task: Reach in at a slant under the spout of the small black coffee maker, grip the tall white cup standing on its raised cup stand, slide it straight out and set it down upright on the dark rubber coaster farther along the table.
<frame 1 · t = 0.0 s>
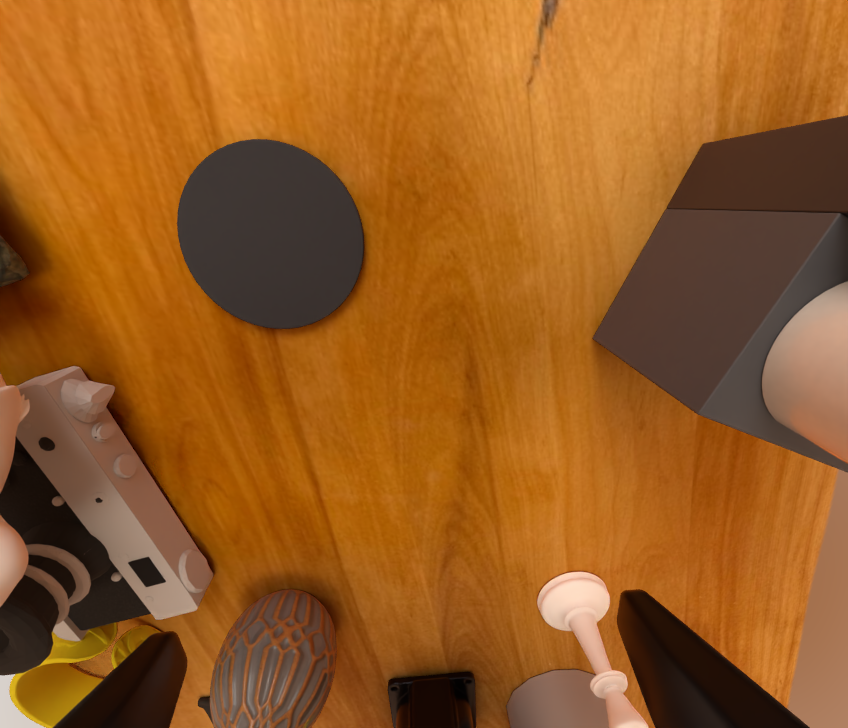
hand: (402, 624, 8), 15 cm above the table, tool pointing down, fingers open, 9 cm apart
vase: (292, 607, 28), on the table
white cup: (845, 359, 14), point 8 cm above the table, touching coffee maker
coffee maker: (683, 302, 22), on the table
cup: (557, 701, 33), on the table
coaster: (274, 240, 19), on the table
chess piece: (570, 594, 29), on the table
bracelet: (56, 718, 25), point 4 cm above the table
camera: (99, 497, 24), on the table, touching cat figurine
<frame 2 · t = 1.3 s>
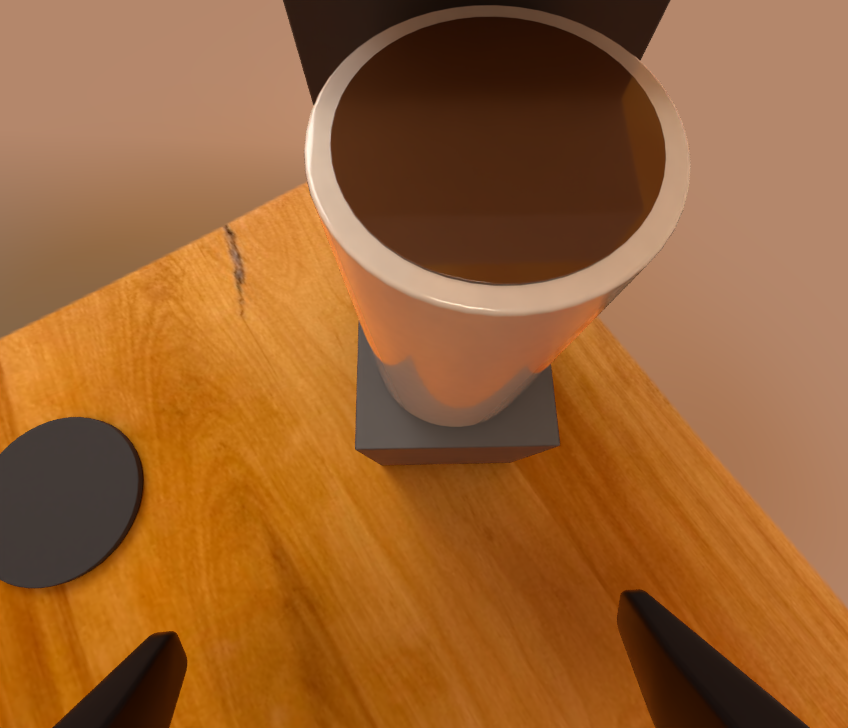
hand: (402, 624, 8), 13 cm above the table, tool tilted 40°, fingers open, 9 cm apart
white cup: (453, 350, 15), point 8 cm above the table, touching coffee maker
coffee maker: (443, 399, 23), on the table
coaster: (61, 497, 22), on the table
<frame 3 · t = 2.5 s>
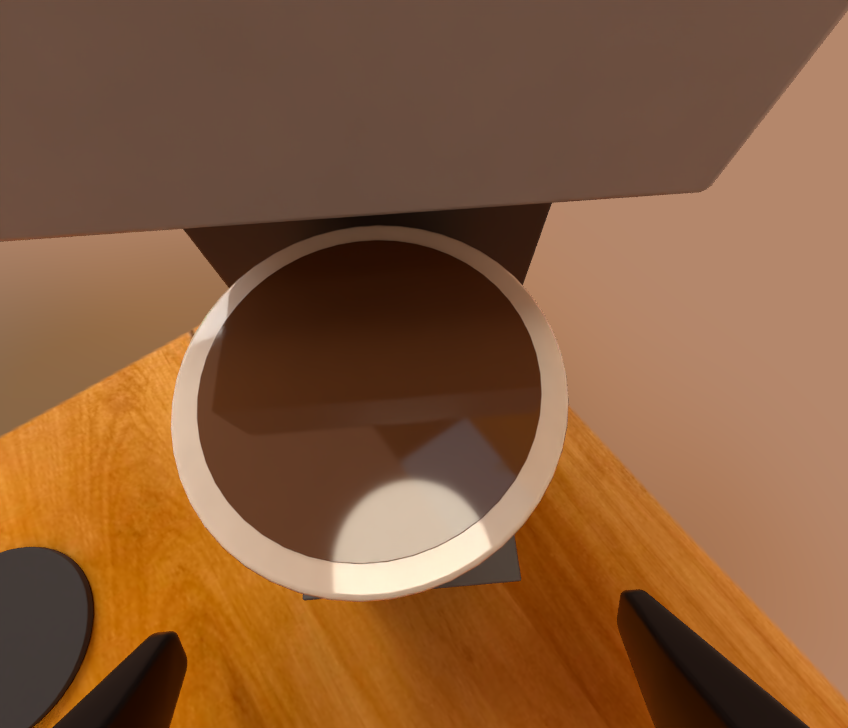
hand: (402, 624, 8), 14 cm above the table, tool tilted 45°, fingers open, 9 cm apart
white cup: (405, 478, 15), point 8 cm above the table, touching coffee maker
coffee maker: (414, 502, 22), on the table
coaster: (3, 642, 20), on the table
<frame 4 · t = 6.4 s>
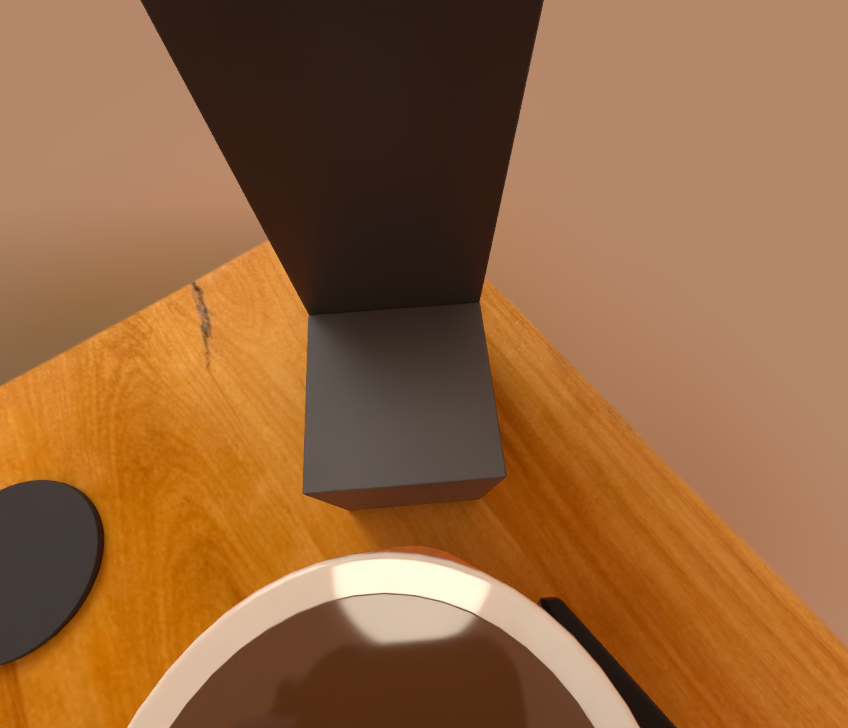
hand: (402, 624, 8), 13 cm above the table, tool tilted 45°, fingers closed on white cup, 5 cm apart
white cup: (413, 648, 12), point 9 cm above the table, touching gripper
coffee maker: (409, 439, 23), on the table
coaster: (17, 566, 21), on the table
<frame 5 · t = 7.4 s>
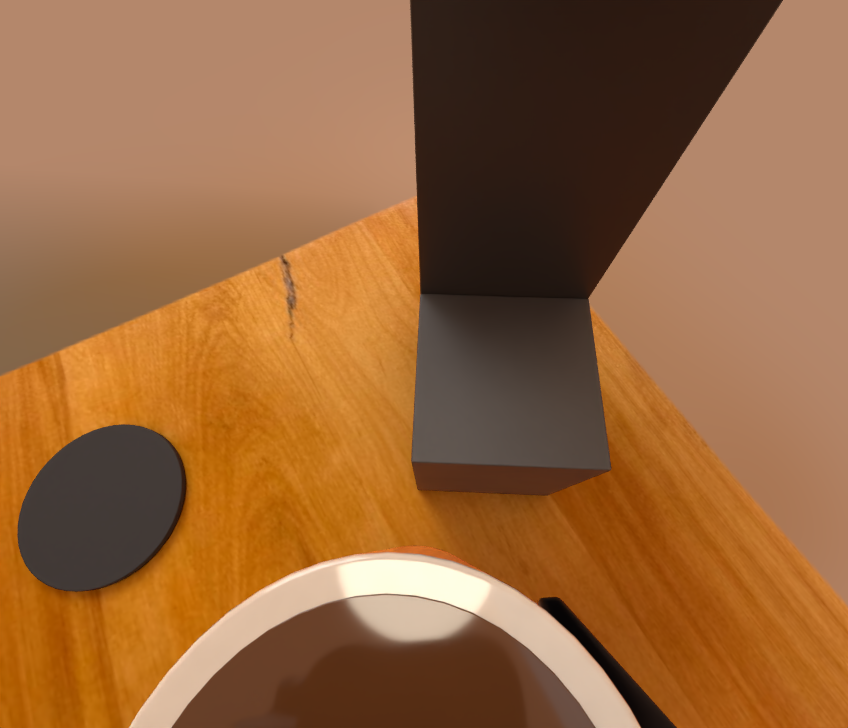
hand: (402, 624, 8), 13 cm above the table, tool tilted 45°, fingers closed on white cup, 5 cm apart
white cup: (414, 649, 12), point 9 cm above the table, touching gripper
coffee maker: (481, 429, 24), on the table
coaster: (106, 502, 22), on the table
when the fingers open (5 cm above the table, at t = 13.2 s): white cup stays where it is, resting on coaster.
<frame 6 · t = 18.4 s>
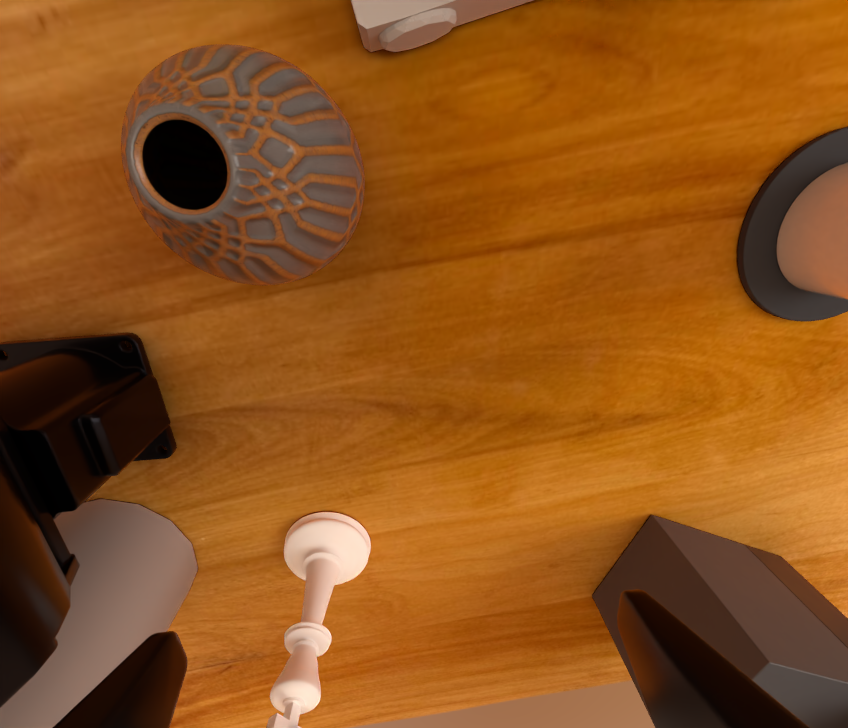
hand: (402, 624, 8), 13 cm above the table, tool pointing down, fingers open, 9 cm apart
vase: (288, 183, 17), on the table
white cup: (838, 229, 18), resting on coaster
coffee maker: (666, 570, 26), on the table
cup: (123, 555, 24), on the table
coaster: (829, 230, 19), on the table
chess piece: (328, 542, 24), on the table
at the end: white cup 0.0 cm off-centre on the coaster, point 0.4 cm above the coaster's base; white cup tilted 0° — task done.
